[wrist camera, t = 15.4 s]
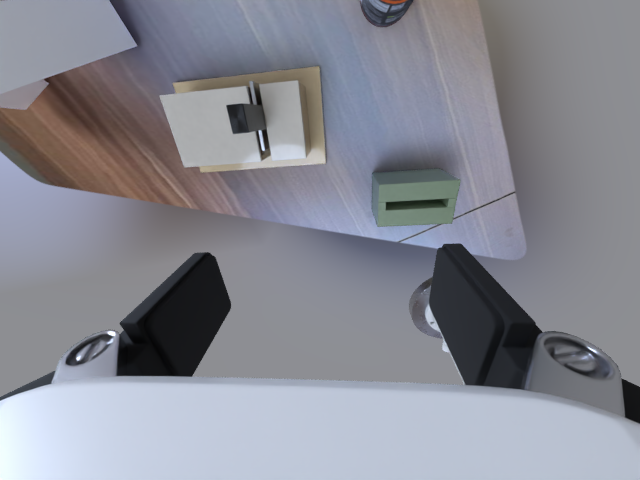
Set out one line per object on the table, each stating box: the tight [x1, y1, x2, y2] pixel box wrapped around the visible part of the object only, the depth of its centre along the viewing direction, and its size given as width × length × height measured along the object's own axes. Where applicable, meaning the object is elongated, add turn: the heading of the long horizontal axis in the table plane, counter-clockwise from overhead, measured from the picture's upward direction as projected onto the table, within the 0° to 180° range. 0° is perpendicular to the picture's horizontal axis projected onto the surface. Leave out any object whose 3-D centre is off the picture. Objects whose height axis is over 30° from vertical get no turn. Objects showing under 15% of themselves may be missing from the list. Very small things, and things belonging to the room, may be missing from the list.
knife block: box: [372, 168, 461, 227], centre depth 34 cm, size 10×6×7 cm, turn 95°
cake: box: [159, 66, 326, 173], centre depth 31 cm, size 12×20×8 cm, turn 95°
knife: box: [226, 81, 270, 151], centre depth 27 cm, size 7×2×13 cm, turn 5°
